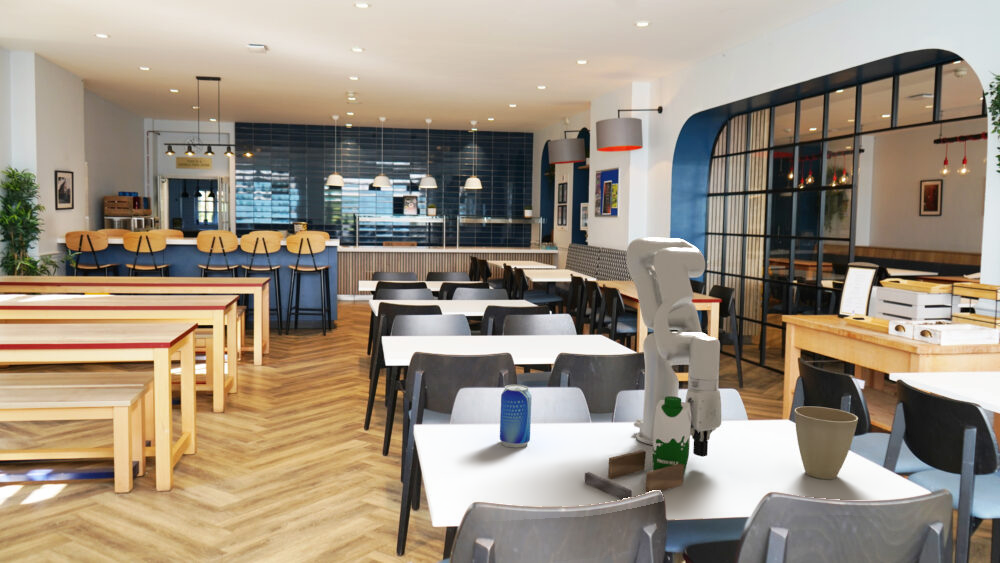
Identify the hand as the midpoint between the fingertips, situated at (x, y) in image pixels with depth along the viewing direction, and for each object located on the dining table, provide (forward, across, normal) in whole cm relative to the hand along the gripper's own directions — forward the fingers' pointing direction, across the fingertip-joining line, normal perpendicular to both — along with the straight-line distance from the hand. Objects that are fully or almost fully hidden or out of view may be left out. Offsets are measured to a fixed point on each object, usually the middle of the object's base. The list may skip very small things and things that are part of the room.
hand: (700, 454), depth 197 cm
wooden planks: (+4, -23, +1) cm, 24 cm away
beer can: (+3, -29, +41) cm, 50 cm away
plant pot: (+4, +23, -20) cm, 31 cm away
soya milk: (+4, -11, +1) cm, 11 cm away
